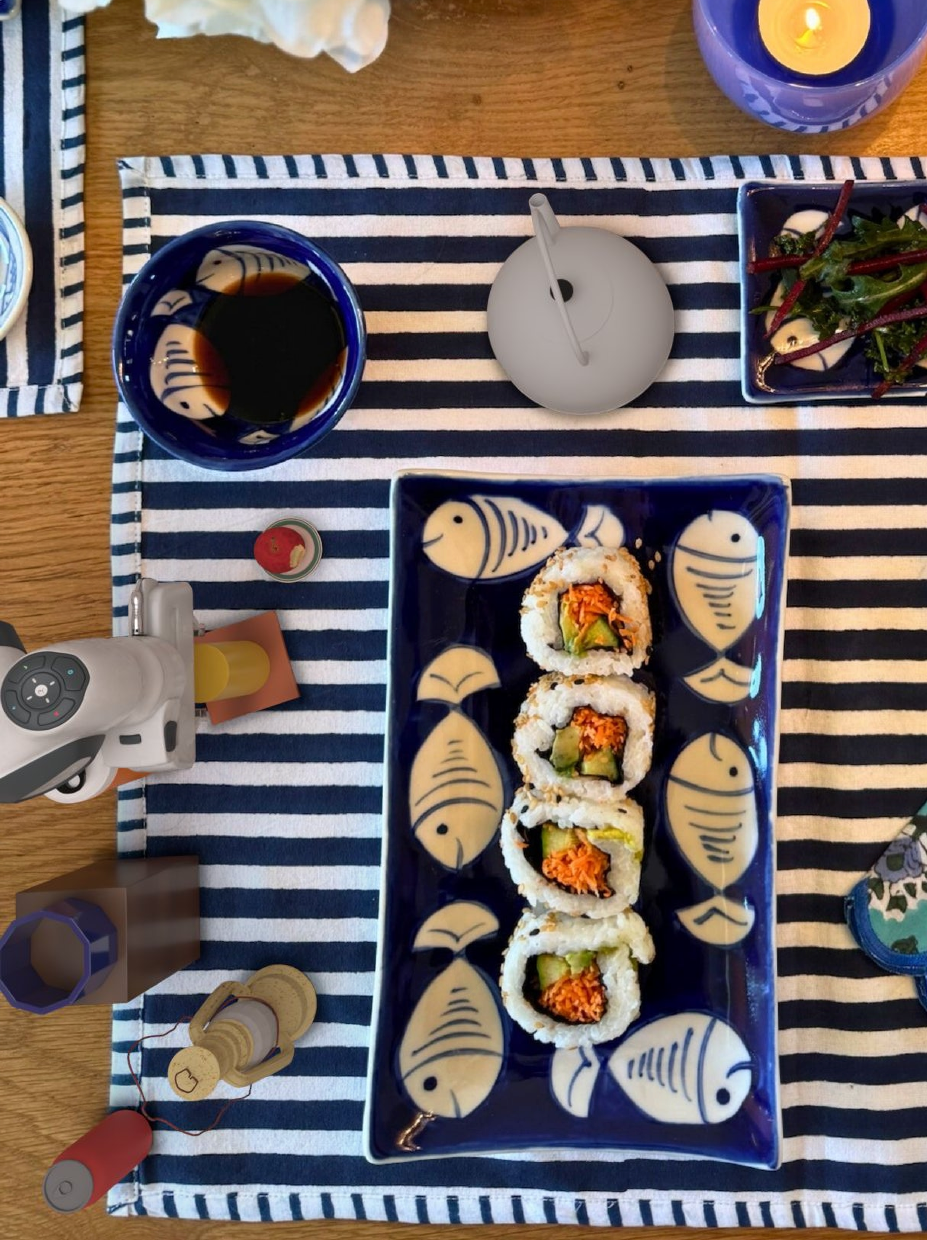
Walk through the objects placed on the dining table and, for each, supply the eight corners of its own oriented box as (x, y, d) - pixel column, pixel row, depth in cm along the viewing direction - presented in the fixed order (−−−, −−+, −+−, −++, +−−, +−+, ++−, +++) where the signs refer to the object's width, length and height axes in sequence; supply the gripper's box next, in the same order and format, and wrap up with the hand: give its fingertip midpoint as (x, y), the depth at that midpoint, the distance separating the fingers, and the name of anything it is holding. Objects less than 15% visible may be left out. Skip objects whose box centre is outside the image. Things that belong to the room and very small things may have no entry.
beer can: (89, 1129, 137) (24, 1179, 125) (136, 1095, 137) (76, 1142, 126) (118, 1177, 137) (57, 1232, 125) (165, 1143, 137) (108, 1195, 125)
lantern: (212, 996, 138) (61, 1104, 108) (274, 938, 139) (140, 1029, 109) (278, 1073, 137) (143, 1203, 108) (340, 1014, 138) (223, 1128, 108)
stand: (101, 963, 139) (15, 1009, 123) (100, 860, 140) (14, 893, 124) (200, 957, 139) (127, 1003, 123) (199, 854, 140) (126, 886, 124)
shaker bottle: (164, 793, 141) (65, 824, 121) (103, 754, 141) (-5, 778, 121) (205, 730, 141) (113, 750, 121) (145, 691, 142) (44, 705, 122)
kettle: (466, 250, 146) (412, 185, 124) (638, 196, 146) (615, 122, 124) (522, 438, 144) (477, 407, 121) (697, 383, 144) (685, 342, 121)
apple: (313, 509, 143) (292, 504, 137) (331, 571, 143) (310, 569, 136) (251, 529, 143) (227, 525, 137) (268, 591, 143) (245, 590, 136)
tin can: (216, 696, 141) (170, 704, 130) (216, 642, 142) (170, 645, 131) (271, 693, 141) (229, 701, 130) (269, 639, 142) (228, 641, 131)
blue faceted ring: (24, 1001, 123) (-7, 1018, 118) (24, 900, 124) (-7, 912, 119) (118, 996, 123) (90, 1012, 118) (117, 894, 124) (90, 907, 119)
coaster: (214, 725, 141) (211, 725, 141) (189, 638, 142) (187, 638, 142) (300, 696, 141) (298, 697, 141) (275, 610, 142) (273, 610, 142)
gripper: (103, 578, 119) (170, 582, 132) (105, 783, 117) (173, 764, 130) (165, 574, 119) (225, 578, 132) (168, 779, 117) (229, 761, 130)
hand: (199, 672), depth 131 cm, fingers open, 8 cm apart
